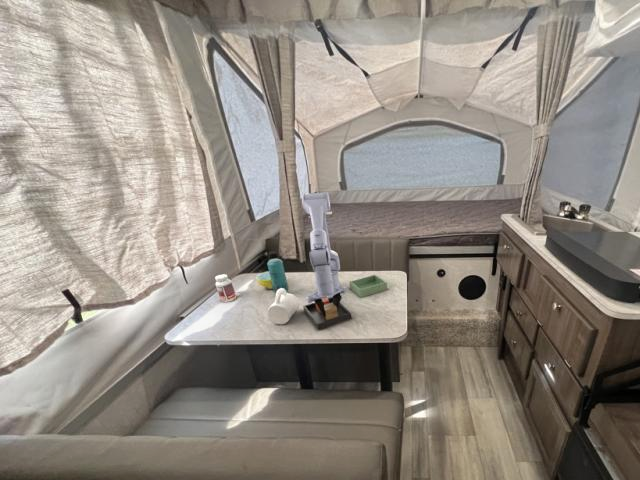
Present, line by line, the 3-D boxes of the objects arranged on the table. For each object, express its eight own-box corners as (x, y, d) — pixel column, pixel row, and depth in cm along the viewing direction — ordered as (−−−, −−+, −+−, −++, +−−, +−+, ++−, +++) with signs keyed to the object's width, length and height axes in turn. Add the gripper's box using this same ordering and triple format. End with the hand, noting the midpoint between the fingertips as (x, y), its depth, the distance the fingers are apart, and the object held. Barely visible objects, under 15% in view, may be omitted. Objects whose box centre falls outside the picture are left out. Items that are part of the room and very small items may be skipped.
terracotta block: (316, 309, 126) (314, 299, 124) (326, 306, 128) (325, 296, 126) (320, 313, 122) (318, 303, 120) (330, 310, 124) (329, 300, 122)
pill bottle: (237, 294, 143) (229, 272, 138) (235, 300, 138) (228, 277, 132) (222, 297, 141) (214, 275, 136) (220, 303, 136) (212, 280, 131)
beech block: (323, 315, 119) (321, 305, 117) (333, 312, 121) (332, 302, 119) (327, 320, 116) (325, 310, 114) (338, 317, 118) (336, 306, 116)
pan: (304, 311, 126) (303, 305, 125) (334, 301, 132) (334, 296, 131) (318, 330, 113) (317, 324, 112) (351, 318, 119) (351, 313, 118)
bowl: (289, 284, 150) (286, 272, 147) (269, 294, 142) (266, 281, 139) (274, 280, 156) (271, 268, 153) (254, 289, 147) (250, 277, 144)
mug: (270, 324, 118) (262, 296, 112) (281, 310, 127) (274, 284, 121) (291, 324, 117) (284, 296, 111) (301, 311, 126) (295, 284, 121)
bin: (350, 288, 143) (349, 281, 141) (375, 281, 149) (375, 274, 147) (361, 297, 134) (360, 290, 133) (387, 289, 140) (386, 282, 139)
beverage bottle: (277, 292, 143) (266, 250, 134) (291, 291, 144) (282, 249, 134) (273, 298, 137) (261, 255, 128) (288, 297, 138) (278, 254, 129)
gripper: (308, 290, 106) (315, 324, 112) (347, 279, 112) (351, 312, 118) (301, 283, 111) (309, 316, 117) (339, 273, 117) (344, 305, 124)
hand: (330, 313), depth 118 cm, fingers closed on beech block, 4 cm apart
